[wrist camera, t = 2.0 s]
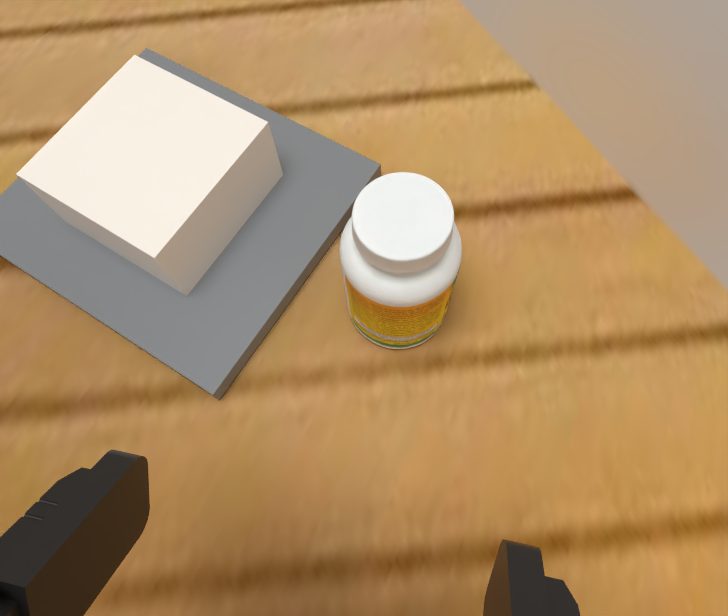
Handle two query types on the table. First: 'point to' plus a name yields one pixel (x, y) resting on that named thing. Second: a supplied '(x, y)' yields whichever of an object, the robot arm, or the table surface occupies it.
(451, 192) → the table surface
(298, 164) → the base board
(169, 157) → the plinth
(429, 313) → the supplement bottle
